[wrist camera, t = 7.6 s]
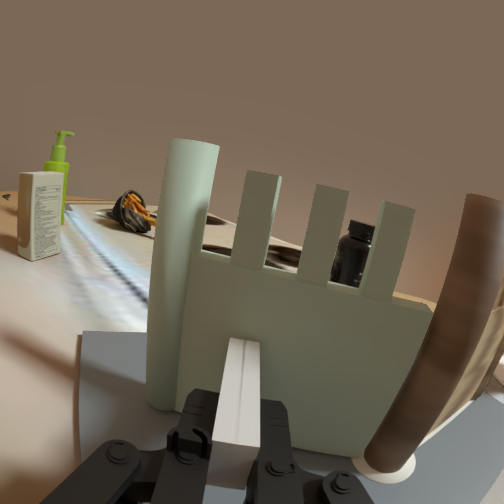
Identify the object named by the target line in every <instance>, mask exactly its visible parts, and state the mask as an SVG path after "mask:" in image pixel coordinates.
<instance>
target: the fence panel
mask: <svg viewBox="0 0 504 504" xmlns="http://www.w3.org/2000/svg"><path fill="white" fill-rule="evenodd" d="M218 152H219V146H217V145H213V144H210V143H205V142H200V141H193V140H187V139H170V141H169V146H168V152H167V157H166V163H165V168H164V174H163V180H162V186H161V193H160V199H159V206H158V213H157V220H156V228H155V236H154V245H153V255H152V265H151V276H150V288H149V302H148V319H147V343H146V399H147V402H148V403H149V404H150V405H151V406H152V407H154V408H156V409H159V410H163V411H171V410H175V411H178V412H180V413H182V411H183V407H184V405H185V401H186V398H187V395H188V394H189V393H190V392H191V391H192V390H194V389H195V388H198V389H203V390H208V391H213V392H218V393H220V391H221V385H222V379H223V374H224V368H225V363H226V357H227V352H228V346H229V341H230V337H232V338H237V339H243V340H249V341H255V342H260V399H268V400H276V401H282V403H283V404H284V406H285V407H286V409H287V411H288V421H289V429H290V438H291V446H292V447H296V448H300V449H305V450H310V451H316V452H321V453H327V454H333V455H339V456H346V457H354V458H359V457H360V455H361V454H362V452H363V451H364V449H365V448H366V446H367V445H368V443H369V441H370V440H371V438H372V437H373V435H374V433H375V432H376V430H377V429H378V427H379V425H380V424H381V422H382V420H383V419H384V417H385V415H386V413H387V412H388V410H389V408H390V406H391V404H392V403H393V401H394V399H395V397H396V395H397V393H398V391H399V389H400V388H401V386H402V384H403V382H404V380H405V378H406V376H407V374H408V372H409V369H410V367H411V365H412V363H413V361H414V359H415V357H416V354H417V352H418V350H419V348H420V345H421V343H422V341H423V338H424V336H425V333H426V331H427V328H428V326H429V323H430V321H431V318H432V316H433V312H432V311H431V310H430V308H429V307H428V306H427V305H426V304H423V303H419V302H414V301H410V300H406V299H402V298H397V297H393V296H392V294H393V291H394V288H395V285H396V282H397V278H398V275H399V272H400V268H401V265H402V261H403V258H404V254H405V250H406V247H407V243H408V239H409V235H410V231H411V227H412V222H413V218H414V214H415V209H412V208H409V207H405V206H402V205H398V204H395V203H391V202H388V201H381V204H380V208H379V213H378V218H377V222H376V226H375V230H374V234H373V238H372V242H371V246H370V250H369V254H368V258H367V261H366V265H365V269H364V272H363V276H362V279H361V283H360V286H359V288H355V287H351V286H347V285H343V284H339V283H335V282H331V281H328V279H329V275H330V272H331V268H332V264H333V260H334V256H335V252H336V248H337V244H338V240H339V236H340V232H341V227H342V223H343V219H344V214H345V210H346V205H347V200H348V196H349V191H346V190H341V189H337V188H333V187H328V186H324V185H320V184H316V189H315V194H314V199H313V203H312V208H311V213H310V218H309V222H308V227H307V231H306V236H305V240H304V244H303V249H302V253H301V257H300V262H299V266H298V270H297V273H294V272H290V271H285V270H281V269H277V268H273V267H269V266H265V265H264V264H265V259H266V254H267V250H268V245H269V240H270V235H271V230H272V225H273V220H274V215H275V210H276V205H277V201H278V195H279V190H280V186H281V180H282V177H280V176H277V175H272V174H267V173H262V172H256V171H251V170H247V173H246V178H245V183H244V188H243V194H242V199H241V204H240V209H239V215H238V220H237V226H236V231H235V237H234V242H233V248H232V253H231V257H229V256H225V255H221V254H217V253H213V252H209V251H205V250H202V243H203V237H204V231H205V225H206V219H207V213H208V207H209V201H210V195H211V189H212V184H213V179H214V173H215V167H216V163H217V157H218Z"/></svg>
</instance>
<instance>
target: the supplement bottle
mask: <svg viewBox="0 0 504 504" xmlns="http://www.w3.org/2000/svg"><path fill="white" fill-rule="evenodd" d="M348 230H349V233H348V234H347V235H344V236H342V237H341V239H340V240H339V243H338V246H337V250H336V254H335V258H334V261H333V265H332V269H331V272H330V276H329V280H328V281H331V282H335V283H339V284H343V285H347V286H351V287H355V288H359V286H360V283H361V279H362V276H363V272H364V269H365V265H366V261H367V258H368V254H369V250H370V246H371V242H372V238H373V234H374V230H375V225H371V224H368V223H365V222H361V221H357V220H352V219H351V220H350V224H349V227H348Z"/></svg>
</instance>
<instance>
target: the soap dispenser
mask: <svg viewBox="0 0 504 504" xmlns="http://www.w3.org/2000/svg"><path fill="white" fill-rule="evenodd" d="M55 134H58V137H57V143H56V145H54V146H52V151H51V158H50V161H47V162H45V163H44V171H43V172H47V171H52V172H60V173H64V183H63V195H62V208H61V225H62V224H63V223H64V208H65V196H66V187H67V186H66V185H67V177H68V170H69V163H67V162H64V160H65V154H66V147H65V145H63V144H64V138H65V135H67V136H75V134H74V133H72V132H69V131H55Z"/></svg>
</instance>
